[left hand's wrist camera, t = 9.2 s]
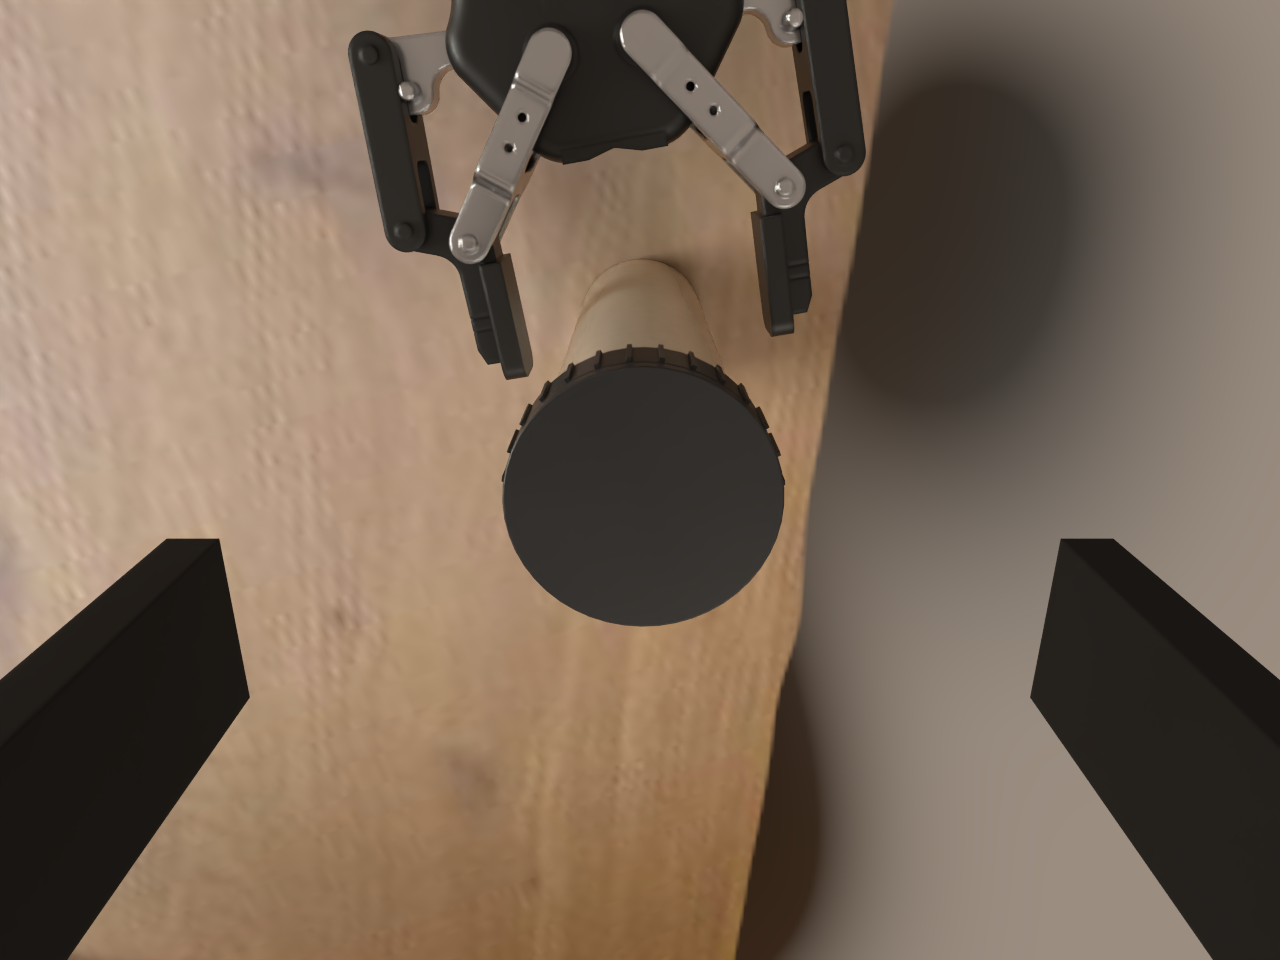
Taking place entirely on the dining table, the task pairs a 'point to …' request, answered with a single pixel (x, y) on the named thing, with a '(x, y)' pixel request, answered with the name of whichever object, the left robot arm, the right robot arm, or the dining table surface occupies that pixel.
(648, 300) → the jar
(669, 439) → the lid
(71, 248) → the dining table surface
